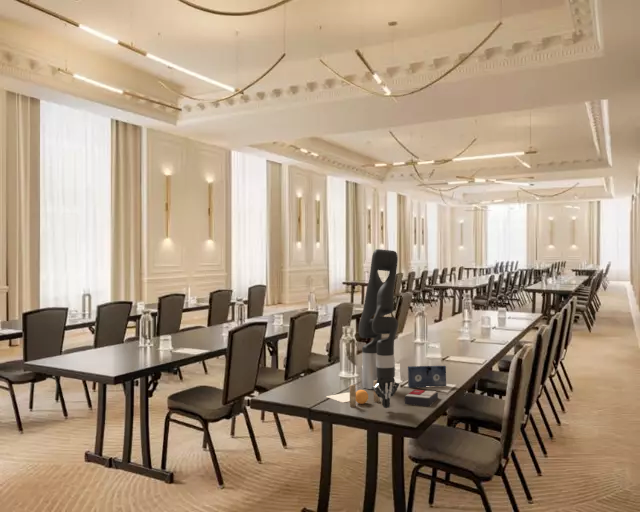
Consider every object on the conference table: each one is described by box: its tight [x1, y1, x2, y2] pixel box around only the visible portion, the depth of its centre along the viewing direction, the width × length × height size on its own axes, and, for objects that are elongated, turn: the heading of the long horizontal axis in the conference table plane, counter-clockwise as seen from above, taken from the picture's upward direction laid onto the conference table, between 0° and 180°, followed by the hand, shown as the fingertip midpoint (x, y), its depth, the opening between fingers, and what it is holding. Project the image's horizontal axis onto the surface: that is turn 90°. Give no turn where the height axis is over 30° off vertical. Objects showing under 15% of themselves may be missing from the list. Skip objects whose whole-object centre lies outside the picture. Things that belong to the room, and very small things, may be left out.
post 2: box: [373, 380, 381, 403], centre depth 247 cm, size 3×3×9 cm
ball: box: [356, 389, 369, 405], centre depth 244 cm, size 6×6×6 cm
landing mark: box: [325, 391, 350, 404], centre depth 255 cm, size 13×13×1 cm
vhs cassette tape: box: [407, 365, 447, 389], centre depth 274 cm, size 18×3×10 cm, turn 92°
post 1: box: [349, 384, 357, 408], centre depth 240 cm, size 3×3×9 cm
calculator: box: [404, 389, 439, 407], centre depth 247 cm, size 11×4×15 cm
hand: (386, 407), depth 232 cm, fingers closed
